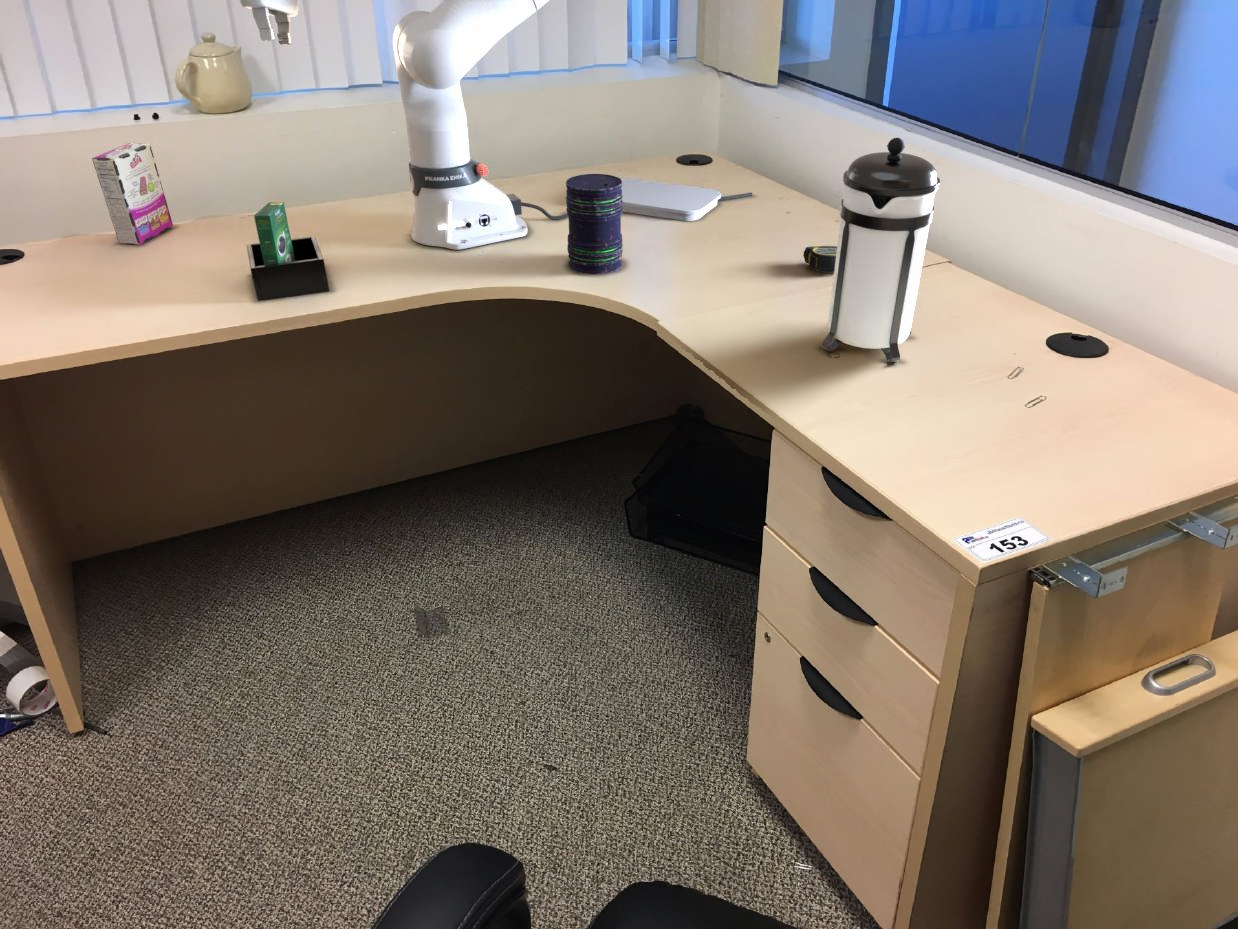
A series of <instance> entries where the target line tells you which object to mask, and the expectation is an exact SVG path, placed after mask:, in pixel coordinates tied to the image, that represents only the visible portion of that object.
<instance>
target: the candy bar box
mask: <svg viewBox="0 0 1238 929" xmlns="http://www.w3.org/2000/svg"><path fill="white" fill-rule="evenodd" d="M151 145H152V144H151V143H142V142H128V143H126V144H123V145H121V146H118V147H116V148H113V149H111V150H108V151H106V152H103V153H101V154H99V155H96V156H94V157H92V158H91V160H92V163H93V166H94V169H95V170H94V171H95V173H96V176H97V180H98V182H99V185H100V189H101V192H102V195H103V197H104V201H105V204H106V207H107V210H108V213H109V216H110V219H111V223H112V226H113V230H114V232H115V235H116V238H117V242H118V244H121V245H131V246H133V245H136V246H140V245H143V244H145V243H146V242H148V241H151V240H152V239H154V238H155V237H156V238H157V236H159V235H161V234H163V233H164V232H166V231H168V230H171V229H172V228H173V227H174V223H173V221H172V220H173V219H172V216H171V213H170V209H169V206H168V203H167V199H166V196H165V192H164V189H163V186H162V185H163V184H162V181H161V178H160V174H159V171H158V167H157V164H156V163H157V162H156V159H155V156H154V153H153V150H152V146H151Z"/></svg>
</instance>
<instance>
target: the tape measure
mask: <svg viewBox="0 0 1238 929" xmlns="http://www.w3.org/2000/svg"><path fill="white" fill-rule="evenodd" d="M837 246H838V245H837ZM837 246H836V245H819V246H818V245H817V246H815V245H814V246H806V247H805V249H804V250H803V259H804V262H805V264H807V265H808V267H809V269H811V270H813V271H815V272H821V273H825V274H834V269H835V262H836V254H837Z"/></svg>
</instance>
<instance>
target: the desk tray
mask: <svg viewBox="0 0 1238 929" xmlns="http://www.w3.org/2000/svg"><path fill="white" fill-rule="evenodd" d="M291 241H292V246H293V251H294V256H295V261H294V262H286V263H279V264H271V265H264V261H263V256H262V252H261V247H260V242H255V243H246V251H247V257H248V262H249V268H250V272H251V277H252V281H253V286H254V291H255V295H256V300H257V302H263V301H271V300H276V299H277V300H278V299H284V298H292V297H293V298H294V297H300V296H306V295H313V294H320V293H328V292H330V288H329V280H328V276H327V269H326V264H325V258H324V256H323V254H322V251H321V248H320V246H319V243H318V240H317V237H316V236H315V235H312V236H304V237H296V238H291Z"/></svg>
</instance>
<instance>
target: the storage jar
mask: <svg viewBox="0 0 1238 929" xmlns="http://www.w3.org/2000/svg"><path fill="white" fill-rule="evenodd" d="M620 178H621V177H618V176H615V175H613V174H612V175H611V174H605V173H586V174H585V173H584V174H579V175H578V174H577V175H574V176H570V177H568V179H566V181H565V187H566V190H565V194H566V196H565V205H566V210H565V211H566V214H568V216H569V217H568V235H567V253H568V254H567V255H568V268H569V269H570V270H572V271H573V272H576V273H579V274H583V275H591V276H592V275H594V276H595V275H597V276H598V275H606V274H612V273H614V272H617V271H620V269H621V268H622V267H623V260H622V258H623V250H624V247H623V245H624V244H623V241H624V240H623V233H622V214H623V212H622V210H623V208H622V203H623V196H622V189H621V187H622V180H621V179H620Z"/></svg>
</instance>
